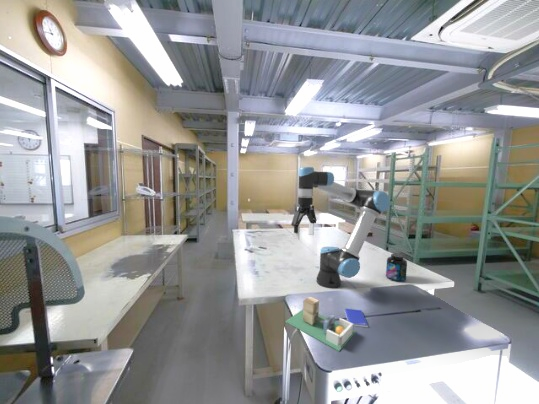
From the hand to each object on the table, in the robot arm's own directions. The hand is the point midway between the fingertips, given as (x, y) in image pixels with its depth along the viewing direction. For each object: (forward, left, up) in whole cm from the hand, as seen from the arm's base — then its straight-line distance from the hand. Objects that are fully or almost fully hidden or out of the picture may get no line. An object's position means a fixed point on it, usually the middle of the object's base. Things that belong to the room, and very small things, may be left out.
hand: (304, 237), depth 121 cm
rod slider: (+14, +18, -34) cm, 41 cm away
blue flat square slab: (-4, +28, -35) cm, 45 cm away
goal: (+14, +29, -35) cm, 47 cm away
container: (-69, +29, -35) cm, 82 cm away
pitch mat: (+14, +19, -35) cm, 42 cm away
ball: (+14, +29, -32) cm, 45 cm away
